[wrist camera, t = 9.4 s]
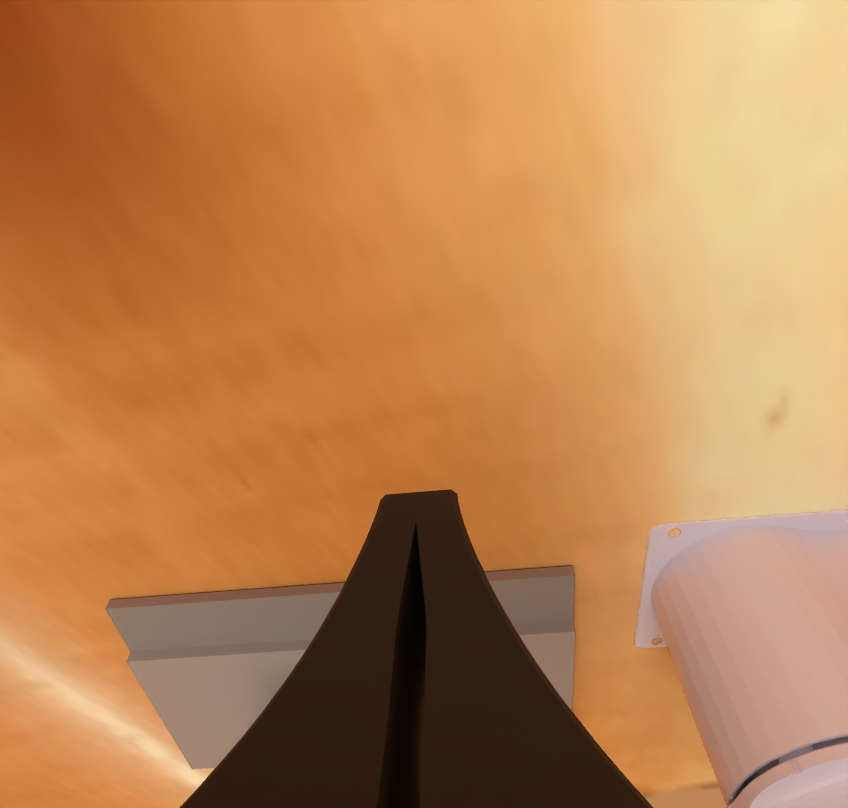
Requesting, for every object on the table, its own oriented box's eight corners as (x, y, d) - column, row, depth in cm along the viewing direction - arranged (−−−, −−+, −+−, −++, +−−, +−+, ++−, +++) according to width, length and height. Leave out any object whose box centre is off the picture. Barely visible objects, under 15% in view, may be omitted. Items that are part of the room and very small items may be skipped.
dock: (572, 565, 26) (591, 635, 23) (566, 728, 33) (580, 797, 30) (110, 599, 27) (73, 670, 24) (197, 750, 34) (177, 819, 31)
